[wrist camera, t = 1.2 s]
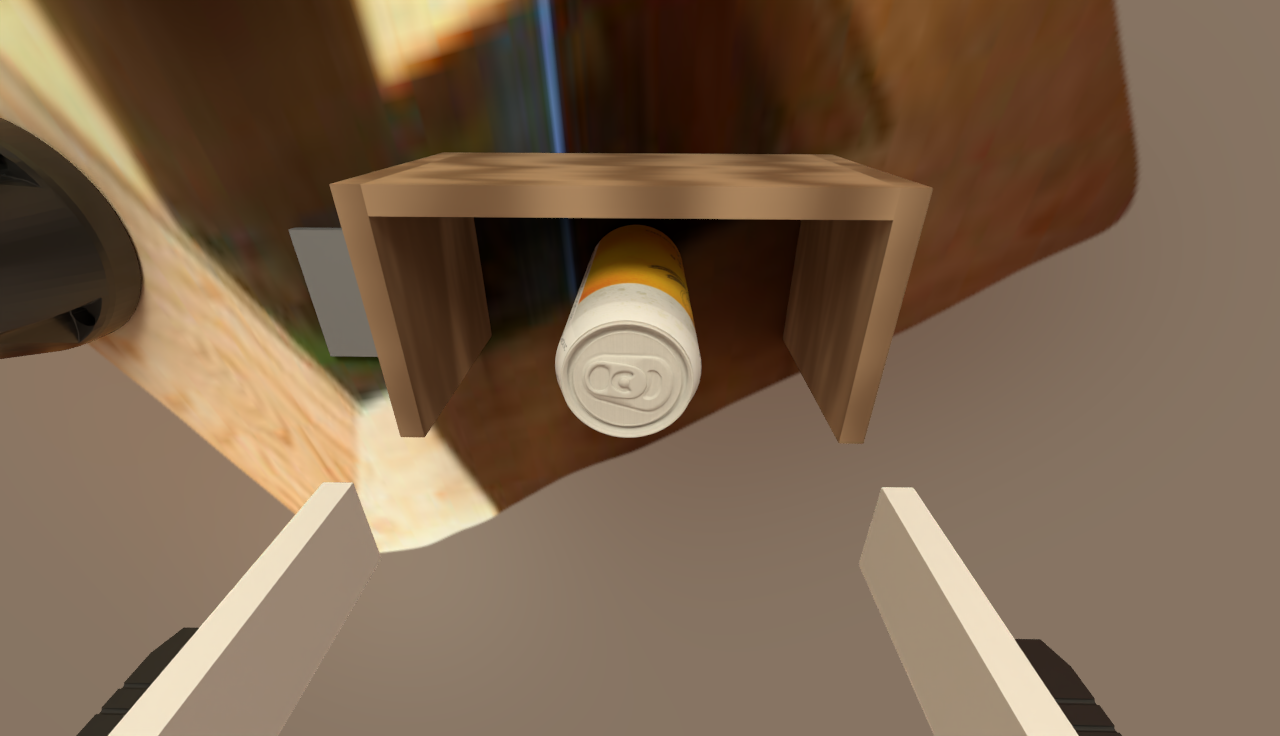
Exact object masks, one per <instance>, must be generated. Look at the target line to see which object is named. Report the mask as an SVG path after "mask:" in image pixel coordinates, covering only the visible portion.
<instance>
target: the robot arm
mask: <svg viewBox="0 0 1280 736" xmlns="http://www.w3.org/2000/svg"><path fill="white" fill-rule="evenodd" d="M140 291H141V277H140V269H139V264H138V260H137V257H136V254H135V251H134V248H133V245H132V243H131V241H130V238H129V236H128V234H127V232H126V230H125V228H124V227H123V225H122V223H121V221H120V220H119V218H118V217H117V215H116V214H115V212H114V211H113V209H112V208H111V206H110V205H109V204H108V202H107V201H106V200H105V198H104V197H103V196H102V195H101V194H100V192H99V191H98V190H97V189H96V188H95V187H94V185H93V184H92V183H91V182H90V181H89V180H88V179H87V178H86V177H85V176H84V175H83V174H82V173H81V172H80V171H79V170H78V169H77V168H76V167H74V166H73V165H72V164H71V163H70V162H69V161H68V160H66V159H65V158H64V157H63V156H62V155H60V154H59V153H58V152H57V151H55V150H54V149H53V148H51V147H50V146H48V145H47V144H46V143H44V142H43V141H41V140H40V139H38V138H37V137H35V136H34V135H32V134H30V133H29V132H27V131H25V130H23V129H22V128H20V127H18V126H16V125H14V124H12V123H10V122H8V121H6V120H4V119H2V118H0V359H4V358H11V357H17V356H26V355H33V354H41V353H48V352H55V351H62V350H66V349H71V348H74V347H78V346H81V345H83V344H86V343H88V342H91V341H93V340H95V339H98V338H100V337H102V336H104V335H107V334H109V333H111V332H113V331H115V330H117V329H118V328H120V327H121V326H122V325H124V324H125V323H126V322H127V321H128V320H129V319H130V317H131V316H132V314H133V313H134V311H135V309H136V307H137V304H138V301H139V297H140ZM380 560H381V556H380V554H379V551H378V548H377V546H376V543H375V540H374V538H373V535H372V532H371V529H370V527H369V524H368V521H367V519H366V516H365V513H364V511H363V508H362V505H361V503H360V500H359V497H358V494H357V492H356V489H355V486H354V484H353V483H335V482H323V483H322V484H321V485H320V487H319V488H318V489H317V490H316V491H315V492H314V494H313V495H312V496H311V497H310V498H309V499H308V501H307V502H306V503H305V504H304V505H303V507H302V508H301V509H300V510H299V511H298V512H297V514H296V515H295V516H294V517H293V518H292V520H291V521H290V522H289V523H288V524H287V525H286V527H285V528H284V529H283V530H282V531H281V533H280V534H279V535H278V536H277V537H276V538H275V540H274V541H273V542H272V543H271V544H270V546H269V547H268V548H267V549H266V550H265V551H264V552H263V554H262V555H261V556H260V557H259V559H258V560H257V561H256V562H255V563H254V564H253V565H252V567H251V568H250V569H249V570H248V571H247V572H246V574H245V575H244V576H243V577H242V578H241V580H240V581H239V582H238V583H237V584H236V586H235V587H234V588H233V589H232V590H231V591H230V592H229V594H228V595H227V596H226V597H225V599H224V600H223V601H222V602H221V603H220V604H219V606H218V607H217V608H216V609H215V610H214V611H213V613H212V614H211V615H210V616H209V617H208V618H207V620H206V621H205V622H204V623H203V624H202V625H201V627H200V628H183V629H181V630H180V631H179V632H178V633H176V634H175V635H174V636H172V637H171V638H170V639H169V640H167V641H166V642H164V643H163V644H162V645H161V646H159V647H158V648H157V649H155V650H154V651H153V652H151V653H150V654H149V656H148V657H147V658H146V659H145V660H144V661H143V662H142V663H141V664H140V666H139V667H138V668H137V669H136V670H135V671H134V672H133V673H132V675H131V676H130V677H129V678H128V679H127V680H126V681H125V682H124V687H123V688H122V689H118V690H117V691H116V692H115V694H114V695H113V696H112V697H111V698H110V699H109V700H108V701H107V703H106V704H105V705H104V706H103V707H102V711H101V712H100V713H99V714H96V715H95V716H94V717H93V718H92V719H91V720H90V721H89V722H88V724H87V725H86V726H85V727H84V728H83V729H82V730H81V731H80V732H79V734H78V735H77V736H278V735H279V733H280V732H281V730H282V728H283V727H284V725H285V723H286V721H287V720H288V718H289V716H290V715H291V713H292V711H293V709H294V708H295V706H296V704H297V702H298V701H299V699H300V697H301V696H302V694H303V692H304V690H305V689H306V687H307V685H308V684H309V682H310V680H311V678H312V677H313V675H314V673H315V672H316V670H317V668H318V667H319V665H320V663H321V661H322V660H323V657H324V656H325V654H326V653H327V651H328V649H329V647H330V646H331V644H332V642H333V641H334V639H335V637H336V636H337V634H338V632H339V630H340V628H341V627H342V625H343V624H344V622H345V620H346V619H347V617H348V615H349V613H350V612H351V610H352V608H353V607H354V604H355V603H356V601H357V600H358V598H359V596H360V595H361V593H362V591H363V589H364V588H365V586H366V584H367V583H368V581H369V579H370V577H371V576H372V574H373V572H374V571H375V569H376V567H377V565H378V564H379V562H380ZM859 566H860V569H861V571H862V573H863V576H864V578H865V580H866V582H867V585H868V587H869V589H870V591H871V594H872V596H873V598H874V601H875V603H876V605H877V607H878V610H879V612H880V614H881V616H882V619H883V621H884V623H885V626H886V628H887V630H888V632H889V635H890V637H891V639H892V641H893V644H894V646H895V648H896V650H897V653H898V655H899V657H900V659H901V662H902V664H903V666H904V669H905V671H906V673H907V675H908V678H909V680H910V682H911V684H912V687H913V689H914V691H915V694H916V695H917V698H918V700H919V702H920V705H921V707H922V709H923V712H924V714H925V716H926V718H927V721H928V723H929V725H930V727H931V730H932V732H933V734H934V736H1122V735H1121V734H1120V733H1117V732H1116V731H1115V729H1114V724H1113V723H1112V722H1111V720H1110V719H1109V718H1108V717H1107V715H1106V714H1105V712H1104V711H1103V710H1102V708H1101V707H1100V706H1099V705H1096V703H1095V701H1094V697H1093V696H1092V695H1091V693H1090V692H1089V690H1088V689H1087V688H1086V686H1085V685H1084V684H1083V683H1082V681H1081V680H1080V678H1079V677H1078V675H1077V674H1076V673H1075V672H1074V670H1073V669H1072V668H1071V666H1070V665H1068V664H1067V663H1066V662H1065V661H1064V660H1063V659H1062V658H1060V656H1058V655H1057V654H1056V653H1055V652H1054V651H1053V650H1052V649H1050V648H1049V647H1048V646H1047V645H1046V644H1045V643H1044V642H1043V641H1041V640H1039V639H1038V640H1037V639H1036V640H1035V639H1014V638H1013V637H1012V635H1011V634H1010V632H1009V631H1008V629H1007V628H1006V626H1005V625H1004V623H1003V622H1002V620H1001V619H1000V617H999V616H998V614H997V613H996V611H995V610H994V608H993V607H992V605H991V604H990V602H989V601H988V599H987V598H986V596H985V595H984V593H983V592H982V590H981V589H980V587H979V586H978V584H977V583H976V581H975V580H974V578H973V577H972V575H971V574H970V572H969V571H968V569H967V568H966V566H965V565H964V563H963V562H962V560H961V559H960V557H959V556H958V554H957V553H956V552H955V550H954V548H953V547H952V545H951V544H950V542H949V541H948V539H947V538H946V536H945V535H944V533H943V532H942V530H941V529H940V527H939V526H938V524H937V523H936V521H935V520H934V518H933V517H932V515H931V514H930V512H929V511H928V509H927V508H926V506H925V505H924V503H923V502H922V500H921V499H920V497H919V496H918V494H917V493H916V491H915V490H914V488H892V487H891V488H890V487H887V488H886V487H882V488H881V492H880V495H879V498H878V502H877V505H876V508H875V511H874V515H873V518H872V522H871V525H870V528H869V532H868V535H867V538H866V542H865V545H864V548H863V552H862V555H861V558H860V562H859Z"/></svg>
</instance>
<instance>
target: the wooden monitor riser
mask: <svg viewBox="0 0 1280 736" xmlns="http://www.w3.org/2000/svg"><path fill="white" fill-rule="evenodd" d="M329 185H330V188H331V192H332V195H333V199H334V202H335V206H336V210H337V213H338V217H339V220H340V224H341V227H342V231H343V234H344V238H345V241H346V245H347V248H348V252H349V256H350V259H351V263H352V266H353V270H354V273H355V277H356V280H357V284H358V287H359V291H360V294H361V298H362V302H363V305H364V309H365V312H366V316H367V319H368V323H369V326H370V330H371V333H372V337H373V340H374V344H375V348H376V351H377V355H378V358H379V362H380V365H381V369H382V372H383V376H384V379H385V383H386V386H387V390H388V393H389V397H390V401H391V404H392V408H393V411H394V415H395V418H396V422H397V425H398V429H399V432H400V436H401V437H425V436H426V434H427V433H428V431H429V430H430V428H431V427H432V425H433V424H434V422H435V421H436V419H437V418H438V416H439V415H440V413H441V412H442V410H443V409H444V407H445V406H446V404H447V403H448V401H449V400H450V398H451V397H452V395H453V394H454V392H455V391H456V389H457V388H458V386H459V385H460V383H461V382H462V380H463V378H464V377H465V375H466V374H467V372H468V371H469V369H470V368H471V366H472V365H473V363H474V362H475V360H476V359H477V357H478V356H479V354H480V353H481V351H482V350H483V348H484V347H485V345H486V344H487V342H488V341H489V339H490V338H491V336H492V333H491V326H490V320H489V313H488V307H487V300H486V294H485V288H484V281H483V275H482V268H481V262H480V255H479V249H478V242H477V236H476V229H475V223H474V217H519V218H654V219H789V220H801V224H800V230H799V236H798V243H797V249H796V256H795V262H794V268H793V275H792V281H791V288H790V294H789V300H788V307H787V313H786V320H785V326H784V332H783V341H784V342H785V344H786V346H787V348H788V350H789V352H790V354H791V355H792V357H793V359H794V361H795V363H796V365H797V367H798V368H799V370H800V372H801V374H802V376H803V378H804V380H805V381H806V383H807V385H808V387H809V389H810V391H811V393H812V394H813V396H814V398H815V400H816V402H817V403H818V405H819V407H820V409H821V411H822V413H823V415H824V417H825V419H826V420H827V422H828V424H829V426H830V428H831V430H832V432H833V433H834V435H835V437H836V439H837V441H838V443H855V444H856V443H857V444H862V443H864V439H865V435H866V432H867V428H868V425H869V421H870V417H871V414H872V410H873V406H874V402H875V399H876V395H877V391H878V388H879V384H880V380H881V377H882V373H883V370H884V366H885V362H886V358H887V355H888V351H889V347H890V344H891V340H892V337H893V333H894V330H895V326H896V322H897V319H898V315H899V311H900V308H901V304H902V300H903V297H904V293H905V289H906V286H907V282H908V278H909V275H910V271H911V267H912V264H913V260H914V256H915V253H916V249H917V245H918V242H919V238H920V234H921V231H922V227H923V223H924V220H925V216H926V213H927V209H928V205H929V202H930V198H931V194H932V191H933V188H931V187H928V186H925V185H922V184H919V183H916V182H913V181H910V180H907V179H904V178H901V177H898V176H895V175H892V174H889V173H886V172H883V171H880V170H877V169H874V168H871V167H868V166H865V165H862V164H859V163H856V162H853V161H850V160H847V159H844V158H841V157H838V156H834V155H811V154H625V153H440V154H436V155H433V156H429V157H426V158H422V159H418V160H415V161H411V162H408V163H404V164H400V165H397V166H393V167H390V168H386V169H382V170H379V171H375V172H372V173H368V174H364V175H361V176H357V177H354V178H350V179H346V180H343V181H339V182H335V183H332V184H329Z"/></svg>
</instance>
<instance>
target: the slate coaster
mask: <svg viewBox="0 0 1280 736" xmlns="http://www.w3.org/2000/svg"><path fill="white" fill-rule="evenodd" d="M289 233H290V236H291V239H292V242H293V245H294V248H295V251H296V254H297V257H298V260H299V263H300V266H301V269H302V272H303V275H304V278H305V281H306V284H307V287H308V290H309V293H310V296H311V299H312V302H313V305H314V308H315V311H316V314H317V317H318V320H319V323H320V326H321V329H322V332H323V335H324V338H325V341H326V344H327V347H328V350H329V353H330V356H357V357H378V355H377V351H376V348H375V344H374V340H373V337H372V333H371V330H370V326H369V323H368V319H367V316H366V312H365V309H364V305H363V302H362V298H361V294H360V291H359V287H358V284H357V280H356V277H355V273H354V270H353V266H352V263H351V259H350V256H349V252H348V248H347V245H346V241H345V238H344V234H343V231H342V228H292V229H289Z"/></svg>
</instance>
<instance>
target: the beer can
mask: <svg viewBox="0 0 1280 736" xmlns="http://www.w3.org/2000/svg"><path fill="white" fill-rule="evenodd" d="M555 370H556V376H557V381H558V383H559V386H560V389H561V391H562V393H563V396H564V398H565V401H566V403H567V404H568V406H569V408H570V409H571V411H572V412H573V413H574V414H575V415H576V417H577V418H579V419H580V420H581V421H582V422H583V423H585V424H586V425H587V426H589V427H591V428H592V429H594V430H596V431H598V432H601V433H604V434H607V435H610V436H615V437H623V438H635V437H643V436H647V435H651V434H654V433H656V432H659V431H661V430H663V429H665V428H666V427H668V426H669V425H671V424H672V423H673V422H675V421H676V420H677V419H678V418H679V417H680V416H681V414H682V413H683V412H684V410H685V409H686V407H687V406H688V404H689V402H690V401H691V399H692V398H693V396H694V394H695V392H696V390H697V388H698V385H699V382H700V377H701V357H700V352H699V346H698V341H697V336H696V331H695V325H694V320H693V315H692V309H691V304H690V299H689V294H688V288H687V283H686V278H685V273H684V267H683V262H682V258H681V255H680V253H679V251H678V249H677V247H676V245H675V244H674V243H673V242H672V240H671V239H670V238H669V237H668V236H666V235H665V234H664V233H662V232H661V231H659V230H657V229H655V228H652V227H649V226H645V225H627V226H623V227H619V228H617V229H615V230H613V231H611V232H610V233H608V234H607V235H606V236H604V237H603V238H602V239H601V240H600V241H599V243H598V244H597V246H596V247H595V249H594V251H593V253H592V256H591V258H590V261H589V264H588V266H587V269H586V272H585V275H584V277H583V280H582V283H581V285H580V288H579V291H578V294H577V296H576V299H575V302H574V304H573V307H572V310H571V312H570V315H569V318H568V321H567V323H566V326H565V329H564V331H563V334H562V337H561V340H560V342H559V345H558V348H557V352H556V358H555Z"/></svg>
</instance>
